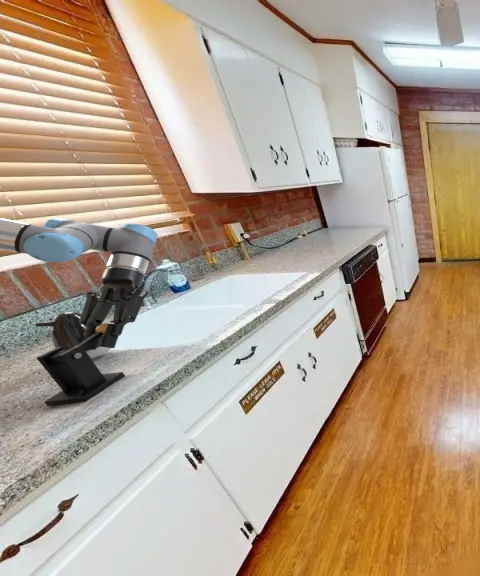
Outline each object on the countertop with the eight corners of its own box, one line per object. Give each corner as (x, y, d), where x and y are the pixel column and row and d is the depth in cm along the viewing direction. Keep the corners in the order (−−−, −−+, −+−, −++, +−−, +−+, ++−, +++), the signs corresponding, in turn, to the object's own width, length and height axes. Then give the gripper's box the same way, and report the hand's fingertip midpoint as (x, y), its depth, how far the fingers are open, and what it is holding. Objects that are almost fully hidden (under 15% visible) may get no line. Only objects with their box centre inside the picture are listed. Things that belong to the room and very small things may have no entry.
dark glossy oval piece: (59, 362, 90) (24, 318, 84) (110, 343, 98) (83, 303, 93) (74, 368, 86) (39, 323, 80) (126, 348, 95) (98, 307, 89)
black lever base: (91, 379, 83) (63, 341, 77) (125, 375, 84) (100, 338, 79) (47, 406, 74) (12, 365, 68) (86, 402, 75) (55, 361, 70)
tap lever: (108, 331, 86) (100, 321, 84) (123, 329, 86) (115, 320, 84) (54, 366, 74) (42, 356, 72) (72, 365, 74) (61, 354, 73)
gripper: (169, 275, 94) (147, 347, 86) (106, 278, 92) (77, 353, 83) (145, 265, 87) (119, 342, 79) (76, 268, 85) (42, 348, 76)
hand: (98, 347), depth 81 cm, fingers closed on tap lever, 4 cm apart
